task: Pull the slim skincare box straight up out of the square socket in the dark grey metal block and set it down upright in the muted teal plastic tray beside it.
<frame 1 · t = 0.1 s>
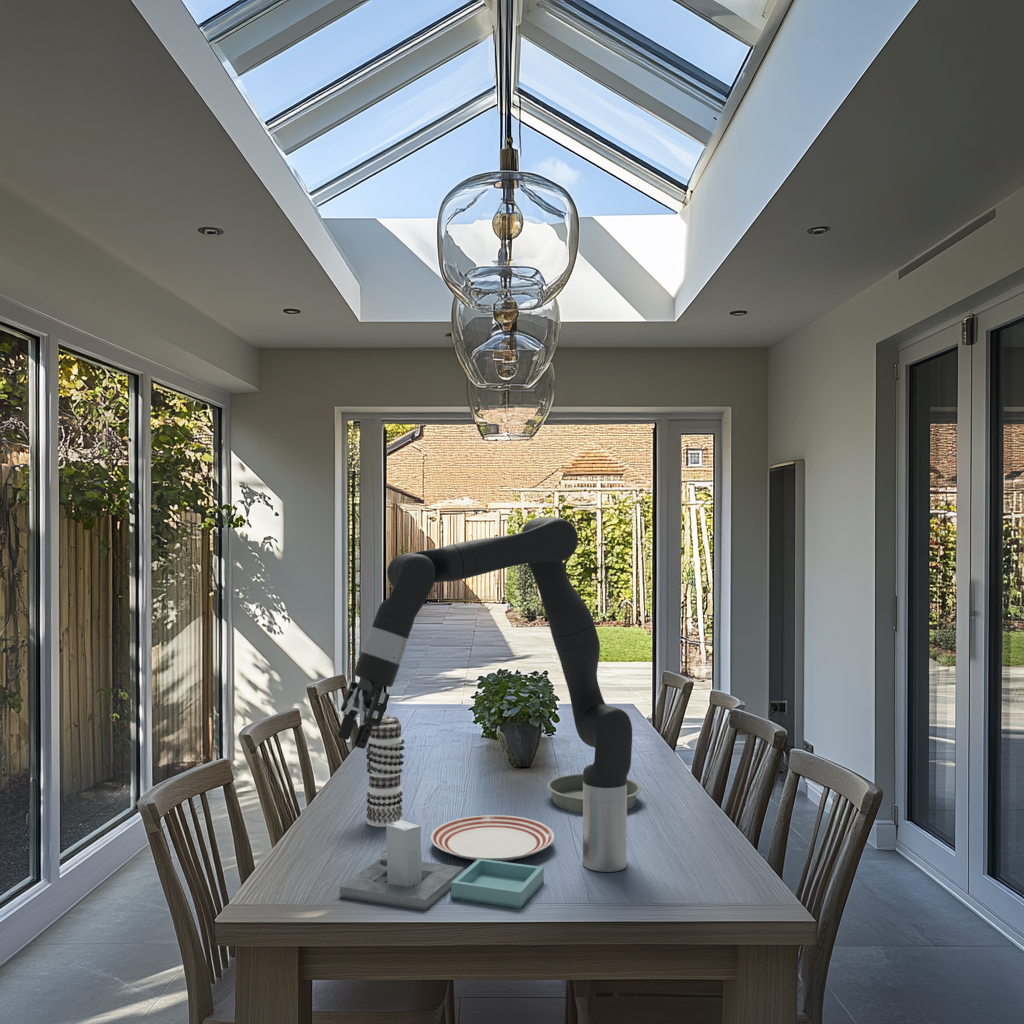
hand: (350, 742, 164), 31 cm above the table, tool tilted 20°, fingers open, 8 cm apart
tray: (498, 890, 177), on the table
cake pan: (593, 803, 239), on the table
dinner plate: (492, 849, 202), on the table
socket block: (403, 886, 179), on the table
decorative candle: (384, 822, 220), on the table
skincare box: (403, 888, 179), resting in socket block
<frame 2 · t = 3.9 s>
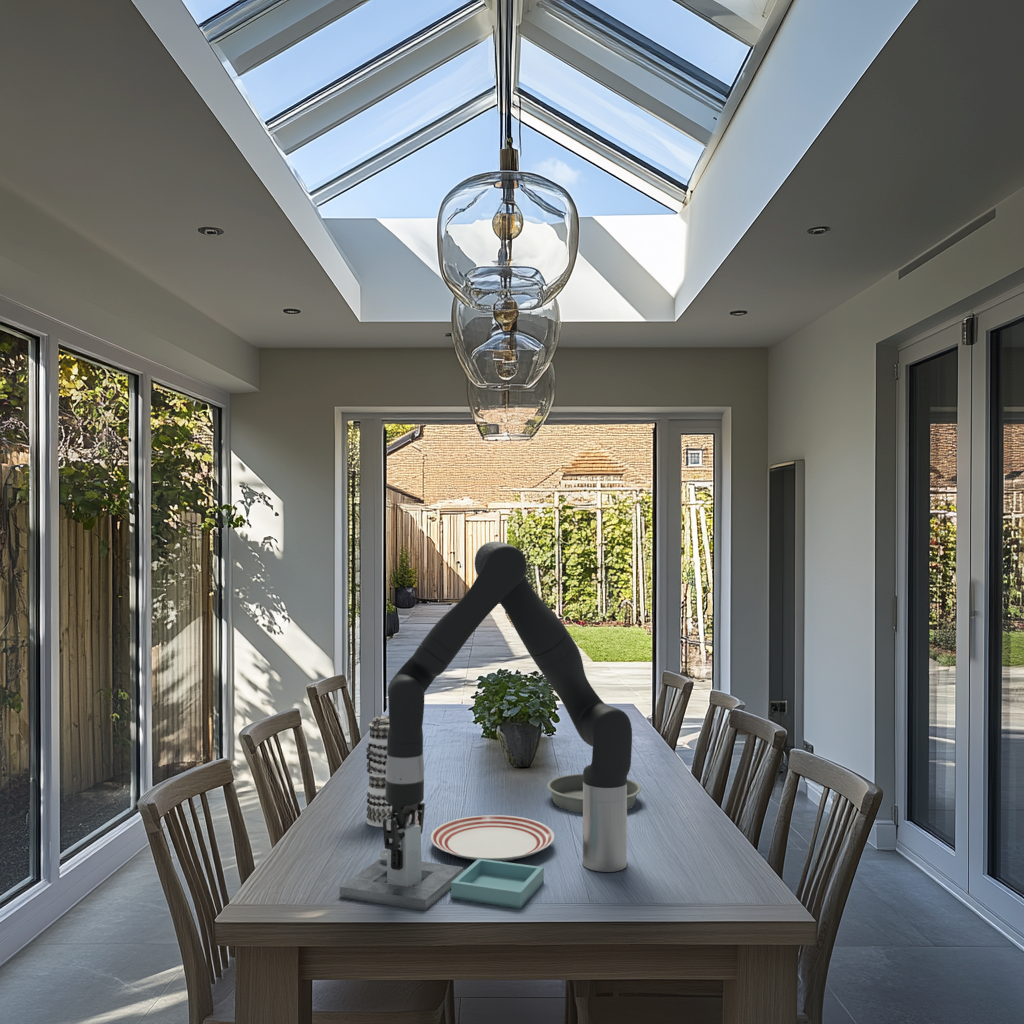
hand: (403, 863, 179), 5 cm above the table, tool pointing down, fingers closed on skincare box, 5 cm apart
skincare box: (403, 887, 179), resting in socket block, touching gripper
everything else where it was.
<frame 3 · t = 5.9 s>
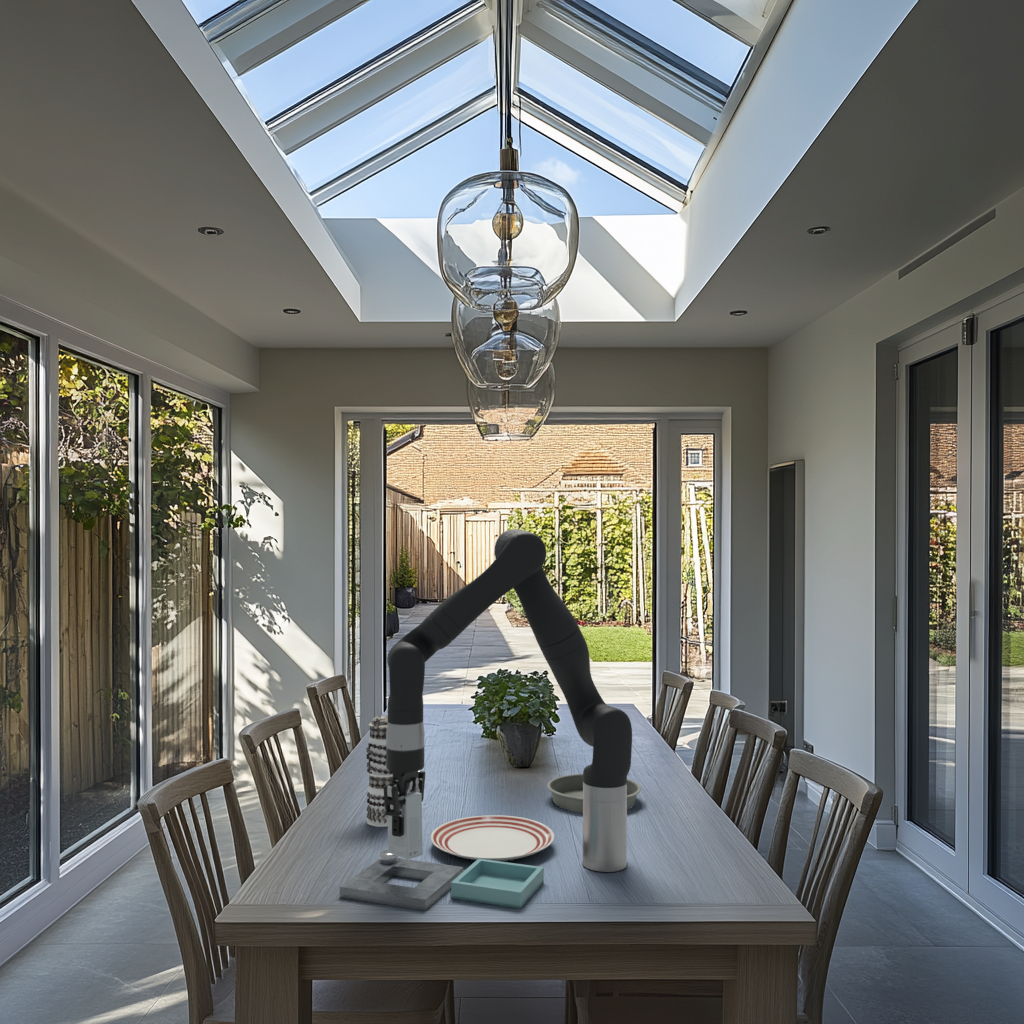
hand: (404, 830, 179), 11 cm above the table, tool pointing down, fingers closed on skincare box, 5 cm apart
skincare box: (404, 855, 179), point 6 cm above the table, touching gripper
everything else where it was.
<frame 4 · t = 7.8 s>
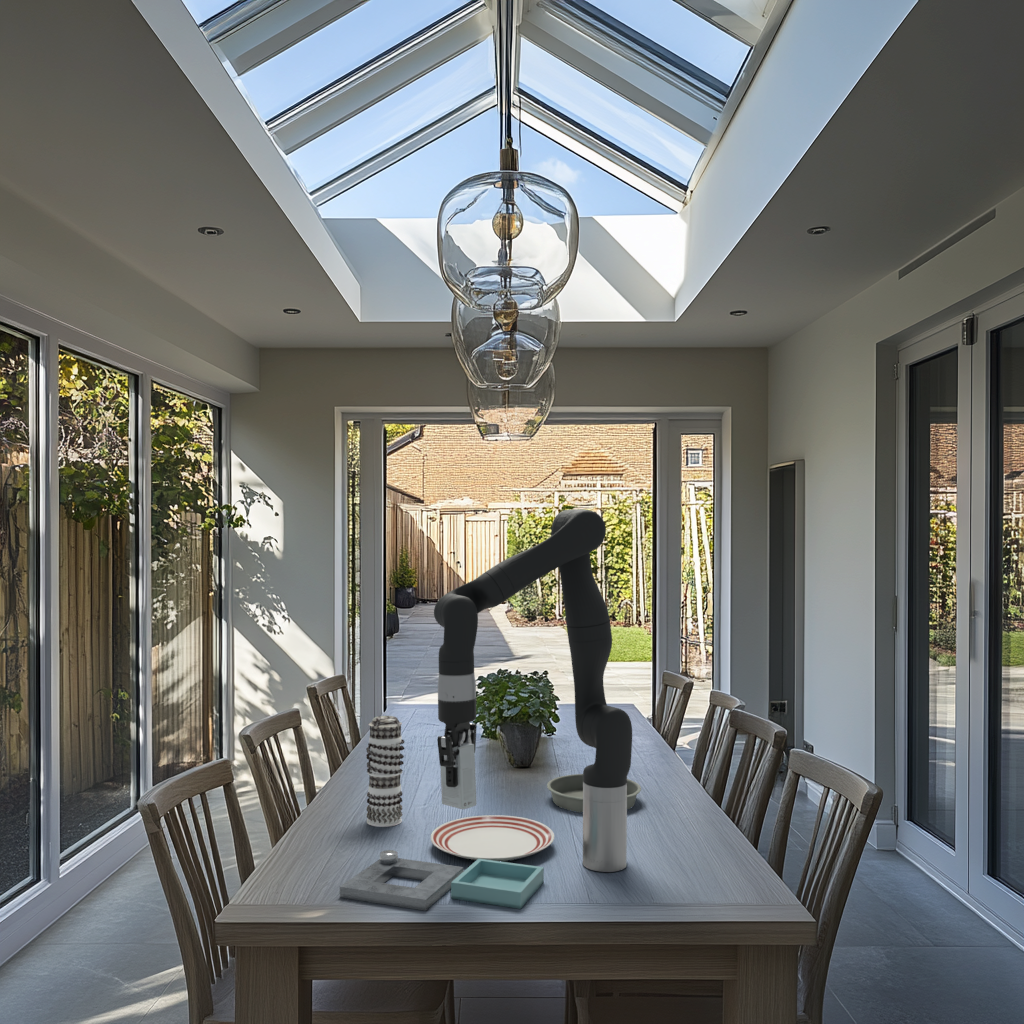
hand: (458, 782, 179), 21 cm above the table, tool pointing down, fingers closed on skincare box, 5 cm apart
skincare box: (458, 806, 179), point 16 cm above the table, touching gripper
everything else where it was.
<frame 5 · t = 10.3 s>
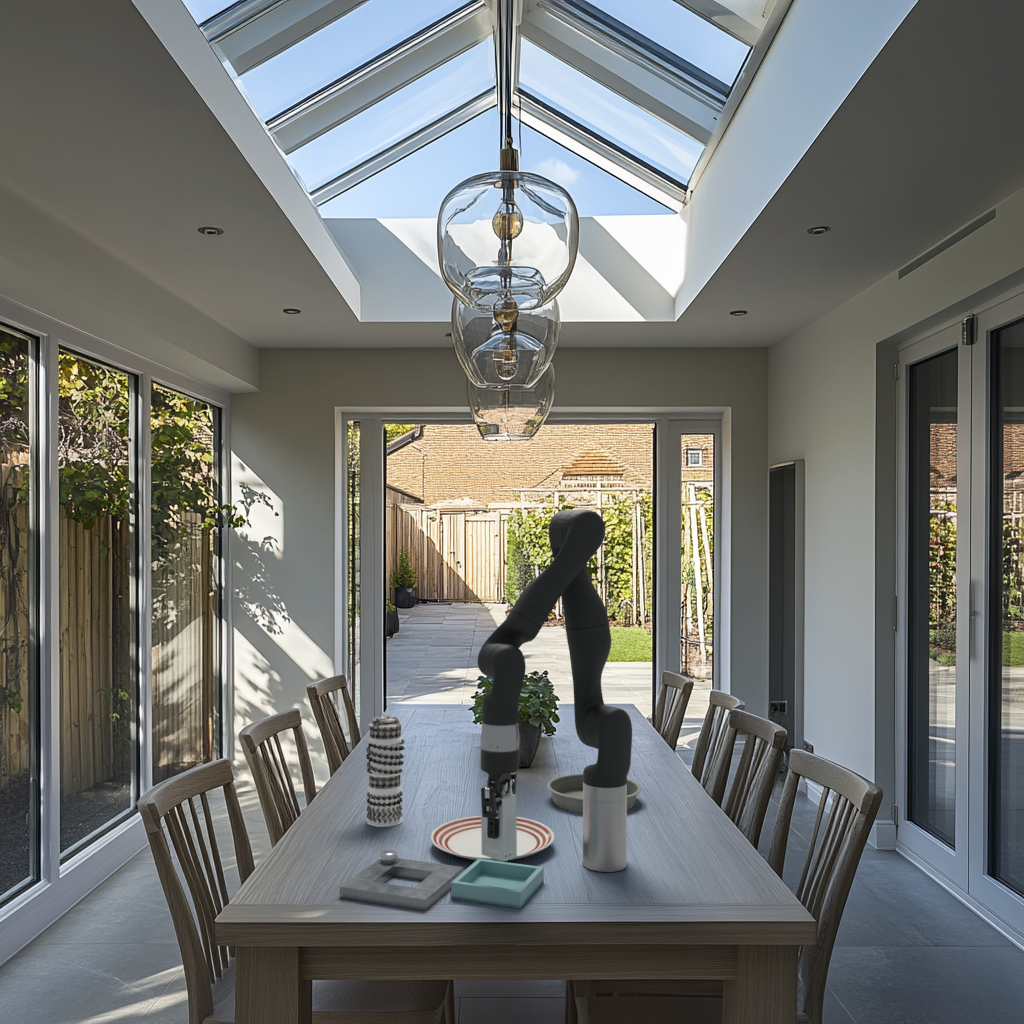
hand: (498, 832, 178), 11 cm above the table, tool pointing down, fingers closed on skincare box, 5 cm apart
skincare box: (498, 857, 177), point 6 cm above the table, touching gripper
everything else where it was.
when the fingers open (6 cm above the table, at t = 12.1 s): skincare box drops 1 cm, resting on tray.
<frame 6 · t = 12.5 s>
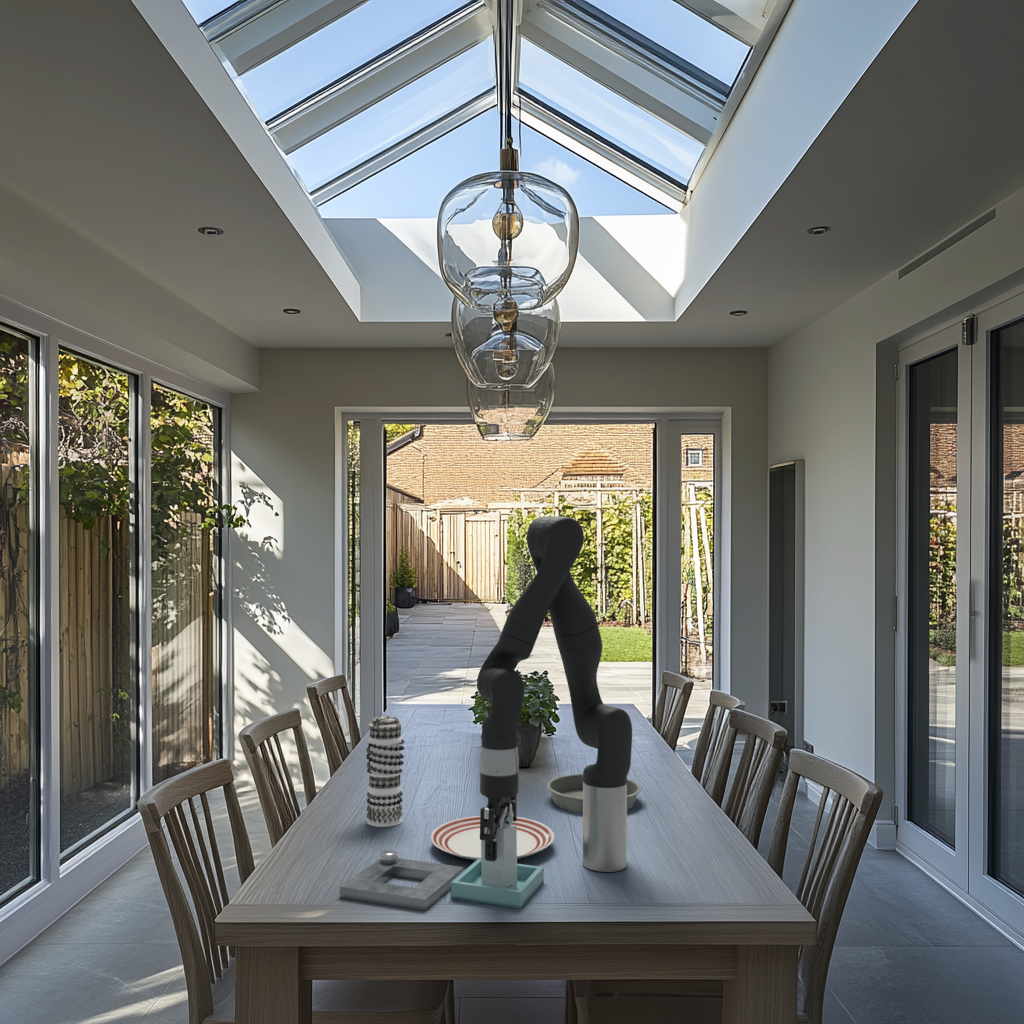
hand: (498, 853, 177), 7 cm above the table, tool pointing down, fingers open, 8 cm apart
skincare box: (498, 888, 177), resting on tray
everything else where it was.
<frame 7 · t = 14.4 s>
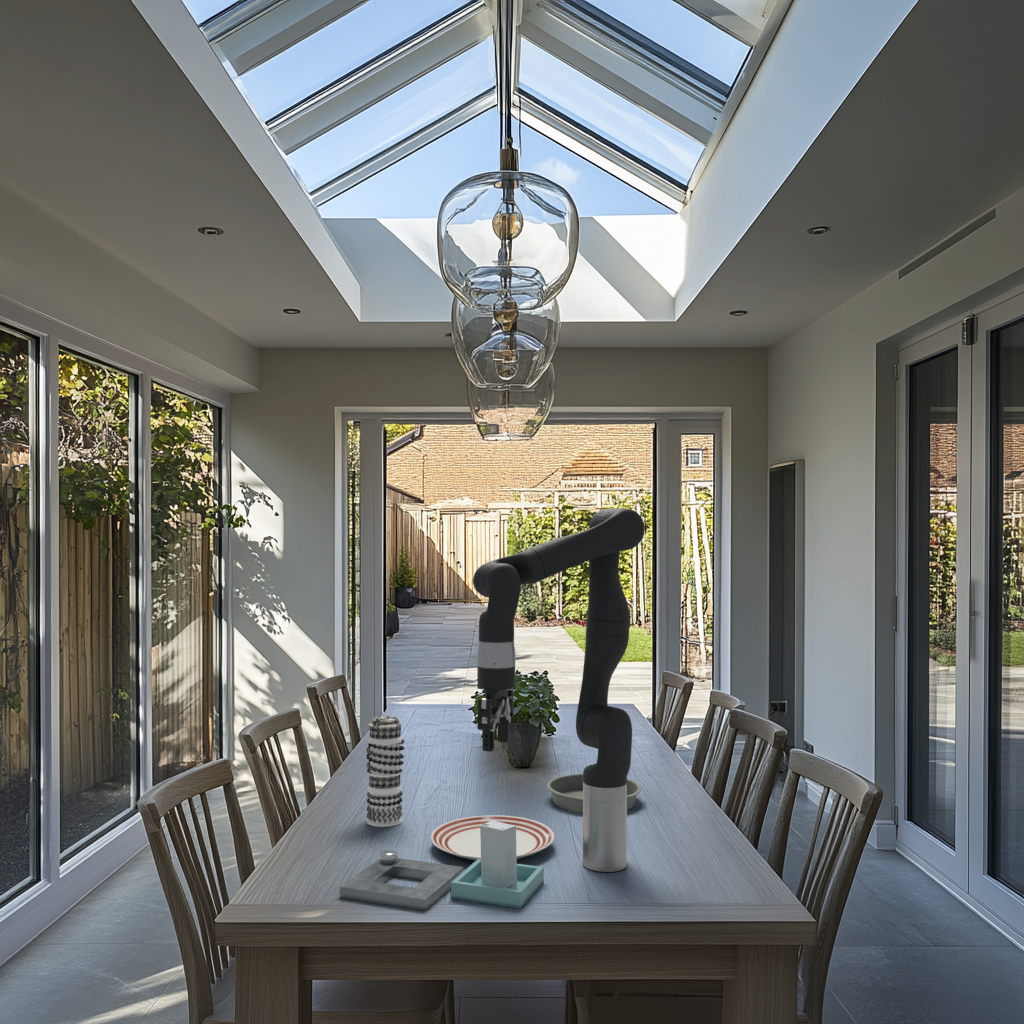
hand: (496, 746, 180), 27 cm above the table, tool pointing down, fingers open, 8 cm apart
nothing on the table moved.
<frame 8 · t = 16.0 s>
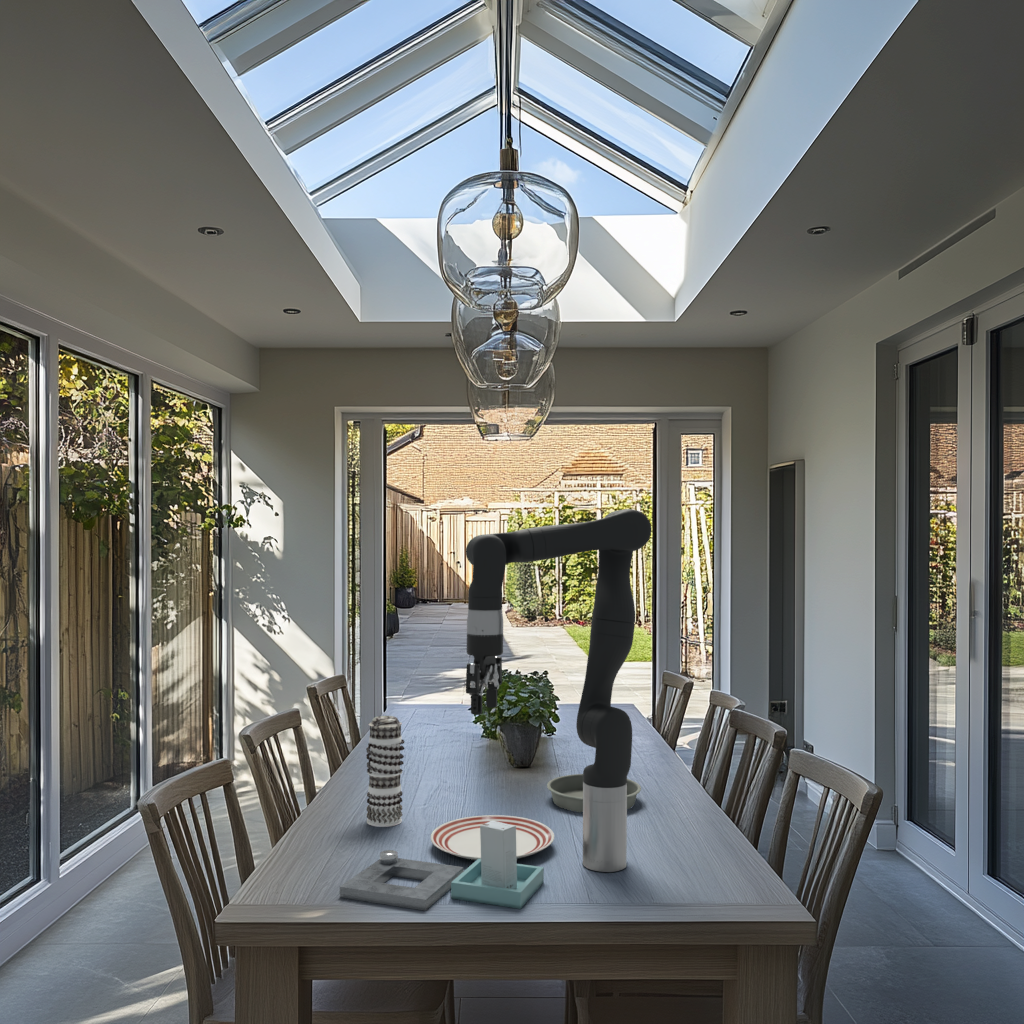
hand: (484, 710, 187), 33 cm above the table, tool pointing down, fingers open, 8 cm apart
nothing on the table moved.
at the end: skincare box inside the target area on the tray (0.0 cm from its centre), point 0.3 cm above the tray's base; skincare box tilted 0°; the gripper is holding nothing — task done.
